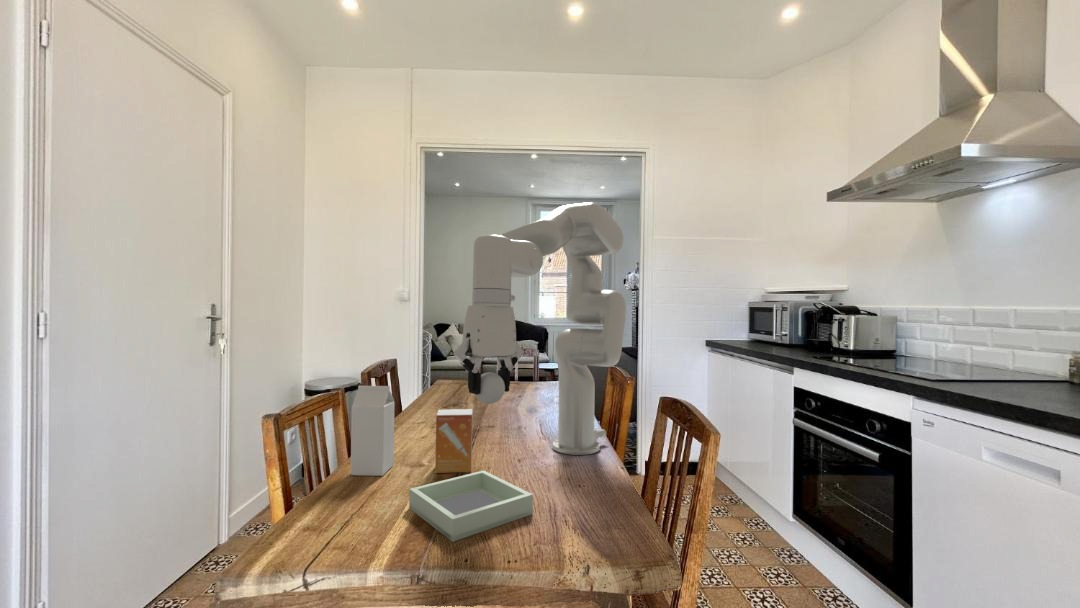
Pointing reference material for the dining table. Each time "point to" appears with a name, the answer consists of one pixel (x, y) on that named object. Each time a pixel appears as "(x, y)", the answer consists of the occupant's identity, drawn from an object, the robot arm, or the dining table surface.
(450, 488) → the tray
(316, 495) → the dining table surface
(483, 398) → the ball
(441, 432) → the small box
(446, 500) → the felt pad
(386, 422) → the milk carton
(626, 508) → the dining table surface
